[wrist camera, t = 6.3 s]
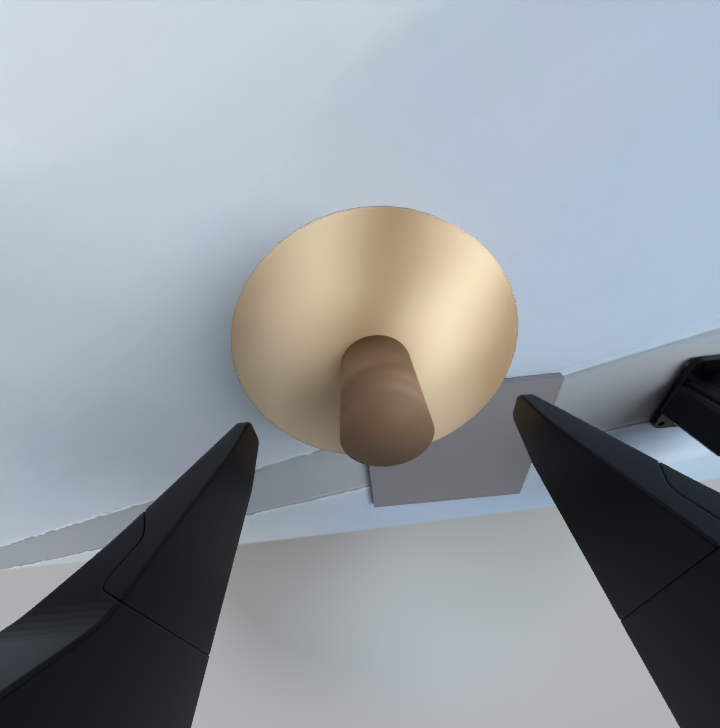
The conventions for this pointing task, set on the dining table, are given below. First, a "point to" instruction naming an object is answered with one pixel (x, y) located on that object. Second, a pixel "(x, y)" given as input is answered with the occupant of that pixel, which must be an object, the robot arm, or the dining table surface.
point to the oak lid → (374, 332)
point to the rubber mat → (469, 453)
